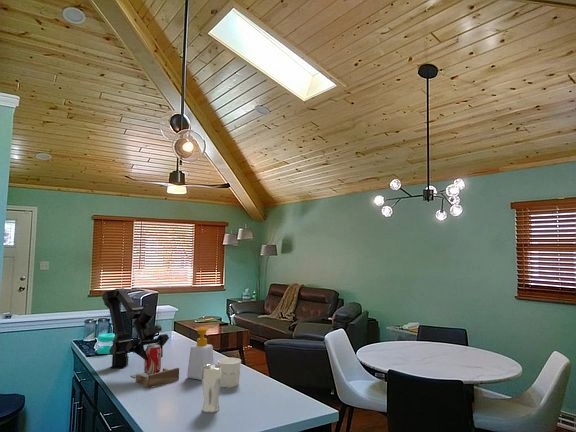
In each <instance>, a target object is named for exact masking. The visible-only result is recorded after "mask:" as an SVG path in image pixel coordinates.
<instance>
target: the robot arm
mask: <svg viewBox="0 0 576 432" xmlns="http://www.w3.org/2000/svg"><path fill="white" fill-rule="evenodd" d="M101 299H102V301H103V303H104V305H105V306H106V307H107V309H109V310H108V311H109V315H110V319H111V320H110V321H111V323H112V324H111V325H112V328H113V334H115V337H114V339H113V341H112V344H111V346H112V347H111V348H110V350H109V352H110V354H109V355H110V356H112V358H111V359H112V360H111V366H110V369H124V368H126V367H127V366H128V365H129V355H128V354H131V352H132V354H136V355H137V356H139V357H141V358H142V359H143V360H144V361H145V360H146V361H147V360H148V358H147V355H146V352H145V350H146V349H145V346H148V345H151V344H158V345H160V348H161V359H162V358H163V357H164V355H163V346H165V344H166V343H167V342H168V341H169V339H170V336H169V335H168V334H167V333H164V334H163V333H162V334H159V333H160V332H161V331H162V330H163V329H162V326H161V324H160V323H159V324H156V325H154V326H149V323H150V322H152V320H153V318H154V316H156V313H157V312H156V309H155V308H154V307H152V306H150V304H145V305H144V306H142V305H141V304H140V303H136V302H135V301H134V300H133V299H132V297H131V296H130V294H128V293H127V289H126V288H124V287H122V288H114V289H112V290H106V291H104V293H102V297H101ZM120 304H121V305H122V306H123V307H124V309H125V315H126V317H127V319H128V320H130V321H132V320H134V321H133V322H132V325H131V328H132V329H135V330H134V331H135V332H136V338H134V339H132V337H131V334H130V333H129V332H128V333H127V332H126V330H125V325H124V321H123V317H122V312H121V307H120ZM157 334H159V335H158V336H157ZM156 336H157V338H156Z"/></svg>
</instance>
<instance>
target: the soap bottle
mask: <svg viewBox="0 0 576 432" xmlns="http://www.w3.org/2000/svg"><path fill="white" fill-rule="evenodd" d="M214 328H215V326H208V327H206V326H200V327H198V328H196V331H197V334H198V335H200V337H199V338H198V337H197V339H196V344H194V345H192V346H191V347H190V351H189V358H188V365H187V371H186V376H187V378H189V379H194V380H200V381H202V372H203V366H205V365H210V364H215V359H214V346H213V345H212V344H208V338H206V337H205V334H207V331H209V329H214Z"/></svg>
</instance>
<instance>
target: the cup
mask: <svg viewBox="0 0 576 432" xmlns="http://www.w3.org/2000/svg"><path fill="white" fill-rule="evenodd" d="M241 364H242V359H240V358H237V357H223V358H219V359H218V360H217V365H220V366H221V387H222V388H223V387H224V388H233V387H234V388H235V387H236V386H238V385H239V384H240V376H241ZM221 387H220V388H221Z"/></svg>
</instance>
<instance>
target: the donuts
mask: <svg viewBox="0 0 576 432" xmlns="http://www.w3.org/2000/svg"><path fill="white" fill-rule="evenodd" d="M114 337H115V334H114V333H113V332H112V333H101V334H98V336H97V338H96V339H97V341H98V342H100V343H113V339H114ZM111 347H112V344H111V345H110V344H109V345H107V344H106V345H101V346H99V347H98V348H97V349H96V353H97V354H98V355H100V354H107V355H110V352H109V350H110V348H111Z"/></svg>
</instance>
